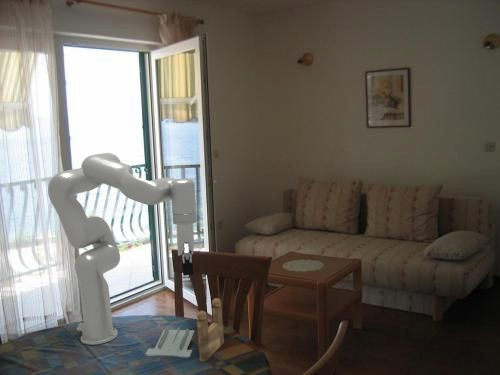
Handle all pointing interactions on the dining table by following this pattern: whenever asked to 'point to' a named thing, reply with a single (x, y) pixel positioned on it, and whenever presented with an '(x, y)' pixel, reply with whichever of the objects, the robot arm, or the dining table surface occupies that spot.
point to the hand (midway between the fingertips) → (188, 270)
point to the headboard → (210, 331)
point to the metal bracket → (172, 343)
